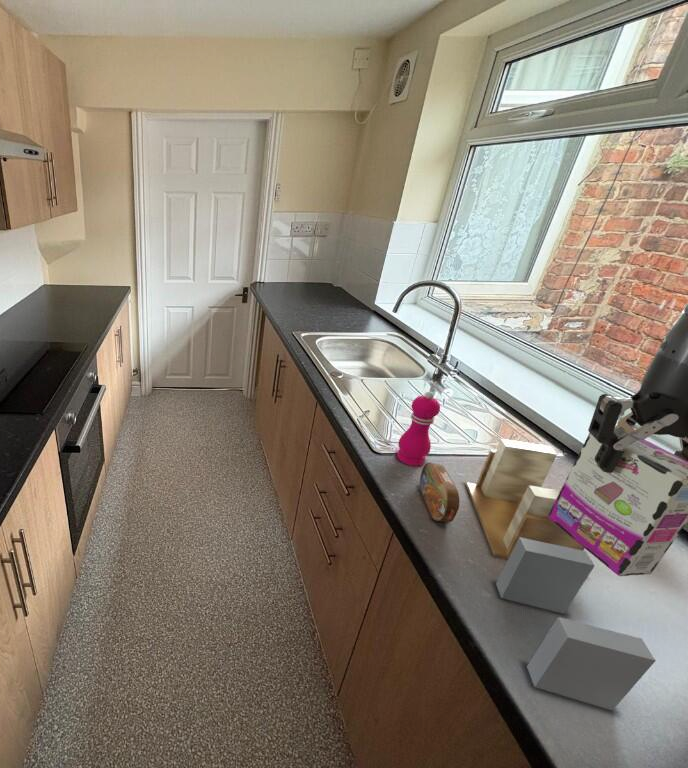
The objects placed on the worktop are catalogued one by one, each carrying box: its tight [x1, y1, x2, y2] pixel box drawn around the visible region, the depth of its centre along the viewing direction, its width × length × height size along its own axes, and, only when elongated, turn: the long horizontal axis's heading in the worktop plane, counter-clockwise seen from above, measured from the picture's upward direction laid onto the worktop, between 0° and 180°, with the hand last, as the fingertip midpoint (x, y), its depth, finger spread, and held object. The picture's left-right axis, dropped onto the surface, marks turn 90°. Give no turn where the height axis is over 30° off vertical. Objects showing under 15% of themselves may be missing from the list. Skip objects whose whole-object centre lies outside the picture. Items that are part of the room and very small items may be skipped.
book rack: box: [465, 438, 586, 560], centre depth 84 cm, size 14×22×15 cm, turn 160°
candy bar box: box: [548, 432, 688, 577], centre depth 56 cm, size 11×5×16 cm, turn 4°
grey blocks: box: [495, 537, 656, 711], centre depth 64 cm, size 9×18×12 cm, turn 160°
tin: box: [419, 462, 460, 523], centre depth 91 cm, size 15×3×8 cm, turn 167°
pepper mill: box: [396, 391, 441, 467], centre depth 104 cm, size 7×7×20 cm
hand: (636, 473), depth 54 cm, fingers closed on candy bar box, 6 cm apart
